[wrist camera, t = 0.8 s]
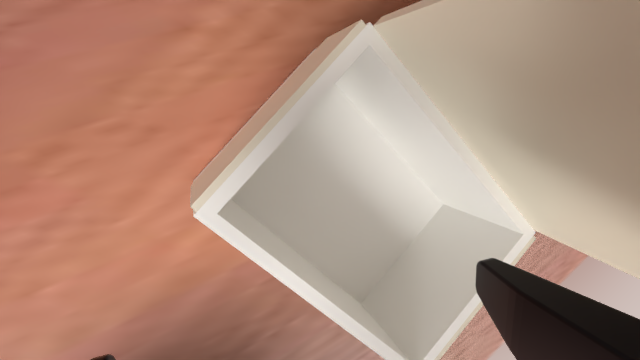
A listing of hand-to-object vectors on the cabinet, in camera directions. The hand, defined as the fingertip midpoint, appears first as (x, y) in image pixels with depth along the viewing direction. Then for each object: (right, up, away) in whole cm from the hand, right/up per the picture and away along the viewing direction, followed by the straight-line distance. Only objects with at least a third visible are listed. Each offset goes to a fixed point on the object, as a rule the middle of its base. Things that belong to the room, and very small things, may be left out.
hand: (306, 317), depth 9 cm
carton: (+1, +3, +14) cm, 14 cm away
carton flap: (+8, +4, +3) cm, 10 cm away
